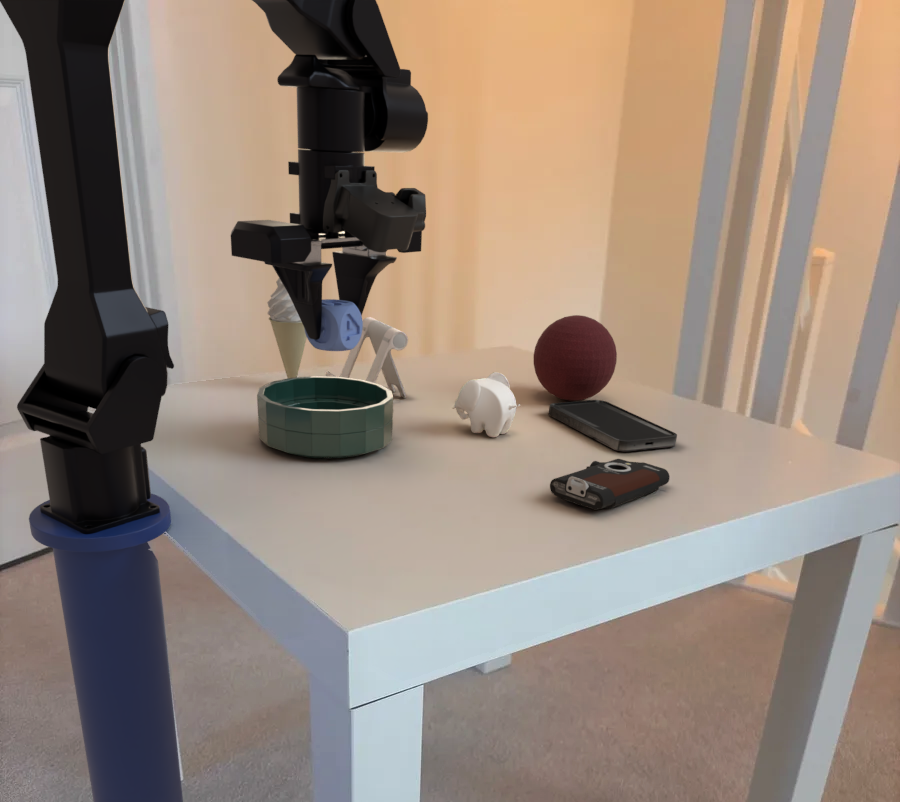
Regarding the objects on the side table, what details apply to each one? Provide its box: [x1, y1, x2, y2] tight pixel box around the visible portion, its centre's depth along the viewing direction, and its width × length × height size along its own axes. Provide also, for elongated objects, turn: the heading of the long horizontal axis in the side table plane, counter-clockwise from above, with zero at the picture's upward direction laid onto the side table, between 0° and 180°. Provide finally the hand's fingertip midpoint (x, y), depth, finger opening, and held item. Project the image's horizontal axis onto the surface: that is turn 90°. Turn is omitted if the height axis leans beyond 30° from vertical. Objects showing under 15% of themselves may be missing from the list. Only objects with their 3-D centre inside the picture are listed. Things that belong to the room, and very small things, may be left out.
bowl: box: [256, 375, 394, 459], centre depth 91 cm, size 13×13×5 cm
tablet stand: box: [325, 316, 409, 399], centre depth 107 cm, size 9×8×8 cm
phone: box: [548, 399, 678, 453], centre depth 101 cm, size 8×1×15 cm
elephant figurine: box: [451, 371, 521, 438], centre depth 97 cm, size 7×8×6 cm
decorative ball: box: [533, 314, 618, 402], centre depth 110 cm, size 10×10×10 cm
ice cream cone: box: [266, 277, 308, 379], centre depth 107 cm, size 5×5×15 cm
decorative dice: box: [304, 298, 363, 352], centre depth 85 cm, size 4×4×4 cm
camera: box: [549, 458, 671, 511], centre depth 83 cm, size 6×3×11 cm
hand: (332, 335), depth 86 cm, fingers closed on decorative dice, 4 cm apart
